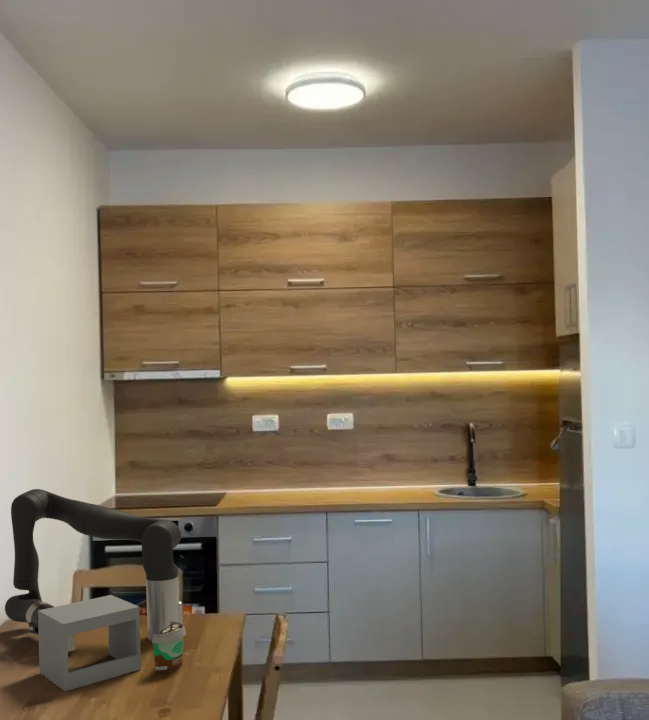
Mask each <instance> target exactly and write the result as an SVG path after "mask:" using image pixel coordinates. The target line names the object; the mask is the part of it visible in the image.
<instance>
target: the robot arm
mask: <svg viewBox="0 0 649 720" xmlns="http://www.w3.org/2000/svg"><path fill="white" fill-rule="evenodd" d="M10 516H11V525H12V534H13V535H12V536H13V545H14V547H13V548H14V564H13V565H14V566H13V580H12V581H13V582H12V583H13V587H14V588H15V589H16V590H19V591H28V593H23V594H17V595H12V596H11V597H10V596H9V598H8V599H7V600H6V602H5V604H4V612H5V615H6V616H7V618H8V619H10V620H11V621H13V622H18V623H27V624H28V632H29V633H31V634H34V635H38V636H39V632H38V610H43V609H47V608H52V607H55V606H54V605H52V604H50V603H48V602H45V601H43V600H42V595H41V592H40V589H39V588H40V586H39V571H40V570H39V568H40V560H39V555H38V551H37V549H36V546H35V542H34V531H35V524H36V522H37V521H39V520H41V519H50V520H55V521H61V522H64V523H65V524H67V525H68V526H70V527H71V528H72V529H73V530H75V531H76V532H78V533H80V534H82V535H85V536H89V537H93V538H98V539H102V540H115V541H116V540H118V541H119V540H121V541H122V540H123V541H124V540H126V541H127V540H128V541H136V542H140V543H141V556H142V557H141V558H142V567H143V571H144V573H145V586H146V588H145V590H146V618H147V619H146V620H147V621H146V622H147V640H149V641H151V642H152V637H153V634H159V633H160V632H161V630H162V629H165V628H167V627H168V626H169V625H170V621H176V622H180V623H182V624H183V625H184V623H183V602H182V601H180V592H179V591H180V589H179V568H178V566H177V565H176V564H175V562H174V548H176V547H177V546H178V545H179V544H180V542H181V540H182V532H181V530H180V527H179V526H178V525H177V524H176V523H174V522H173V521H171V520H168V519H162V518H154V517H153V518H152V517H145V516H140V515H136V514H132V513H129V512H125V511H122V510H119V509H114V508H111V507H107V506H102V505H99V504H96V503H95V504H94V503H90V502H86V501H81V500H76V499H73V498H72V499H71V498H68V497H65V496H61V495H58V494H56V493H53V492H50V491H47V490H44V489H40V488H33V489H30V490H27V491H26V492H24V493H21V494H18V495H17V496H16V497H15V498H14V499H13V501H12V502H11V505H10Z"/></svg>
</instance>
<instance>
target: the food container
mask: <svg viewBox="0 0 649 720" xmlns="http://www.w3.org/2000/svg"><path fill="white" fill-rule="evenodd" d="M186 635H187V632H186V627H185V626H184V623H183V624H182V623H180V622H176V621H170V625H169V626H168V627H167V628H165V629H162V630H161V632H160V633H159V634H153V637H152V641H151V643H152V645H153V655H154V657H153V658H154V659H153V660H154V669H155V674H163V673H162V672H166V673H170V672H169V671H171V672H174V671H177V670H179V669H180V667H181V666H183V655H184V652H183V651H184V637H186ZM178 668H179V669H178ZM181 668H182V667H181ZM176 669H177V670H176ZM173 670H174V671H173Z"/></svg>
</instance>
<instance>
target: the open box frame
mask: <svg viewBox="0 0 649 720" xmlns="http://www.w3.org/2000/svg"><path fill="white" fill-rule="evenodd" d="M140 613H141V612H140V606H138V605H136V604H133V603H132V602H129V601H127V600H124V599H121V598H120V597H117V596H114V595H112V594H108V595H105V596H104V595H103V596H100V597H95V598H91V599H87V600H86V599H85V600H81V601H76V602H72V603H67V604H63V605H58V606H54V607H52V608H47V609H43V610H38V632H39V635H38V656H39V657H38V662H39V665H38V666H39V674H40V673H41V674H42V675H41V674H40V675H41V676H43V675H44V676H45V677H44V676H43V677H44V678H45V679H47V678H48V679H49V680H48V679H47V680H48V681H50V682H51V681H52V683H53V684H54V685H55V684H56V685H55V686H56V687H58V688H60V689H61V690H63V691H64V692H68V691H70V690H74V689H77V688H81V687H85V686H88V685H93V684H96V683H99V682H103V681H106V680H110V679H113V678H117V677H120V676H123V674H124V675H127V674H130V672H131V673H134V672H137V670H138V671H141V670H142V657H141V656H142V652H141V619H140ZM105 627H107V628H108V652H109V654H108V656H111V657H113V658H114V659H111V660H107V661H104V662H100V663H96V664H94V665H89V666H86V667H81V668H78V669H75V670H70V671H69V652H68V636H69V635H73V634H75V635H77V634H81V633H85V632H88V631H89V632H90V631H93V630H97V629H102V628H105ZM140 669H141V670H140ZM133 671H134V672H133ZM126 673H127V674H126Z"/></svg>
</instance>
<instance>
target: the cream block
mask: <svg viewBox="0 0 649 720" xmlns="http://www.w3.org/2000/svg"><path fill="white" fill-rule="evenodd" d="M72 651H76V634H73V635H69V636H68V653H70V652H72Z"/></svg>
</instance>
